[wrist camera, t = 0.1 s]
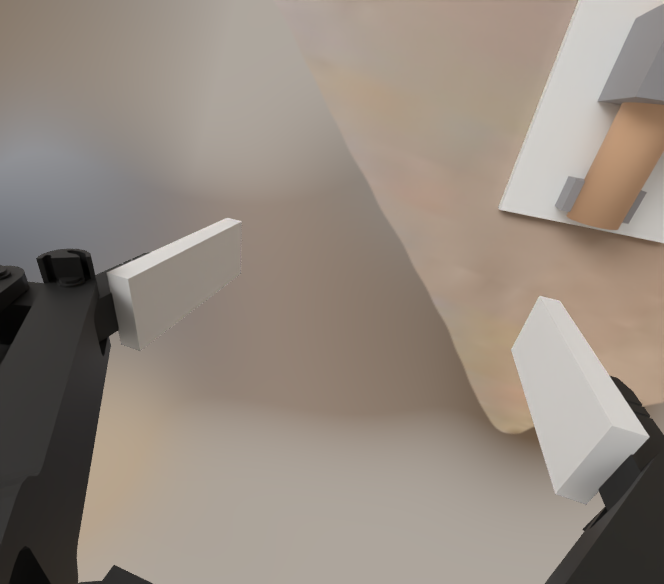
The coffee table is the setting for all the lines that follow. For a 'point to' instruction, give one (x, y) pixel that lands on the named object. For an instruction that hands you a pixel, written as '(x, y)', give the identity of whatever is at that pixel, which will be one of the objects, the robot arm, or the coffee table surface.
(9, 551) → the robot arm
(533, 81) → the coffee table surface
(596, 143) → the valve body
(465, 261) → the coffee table surface
